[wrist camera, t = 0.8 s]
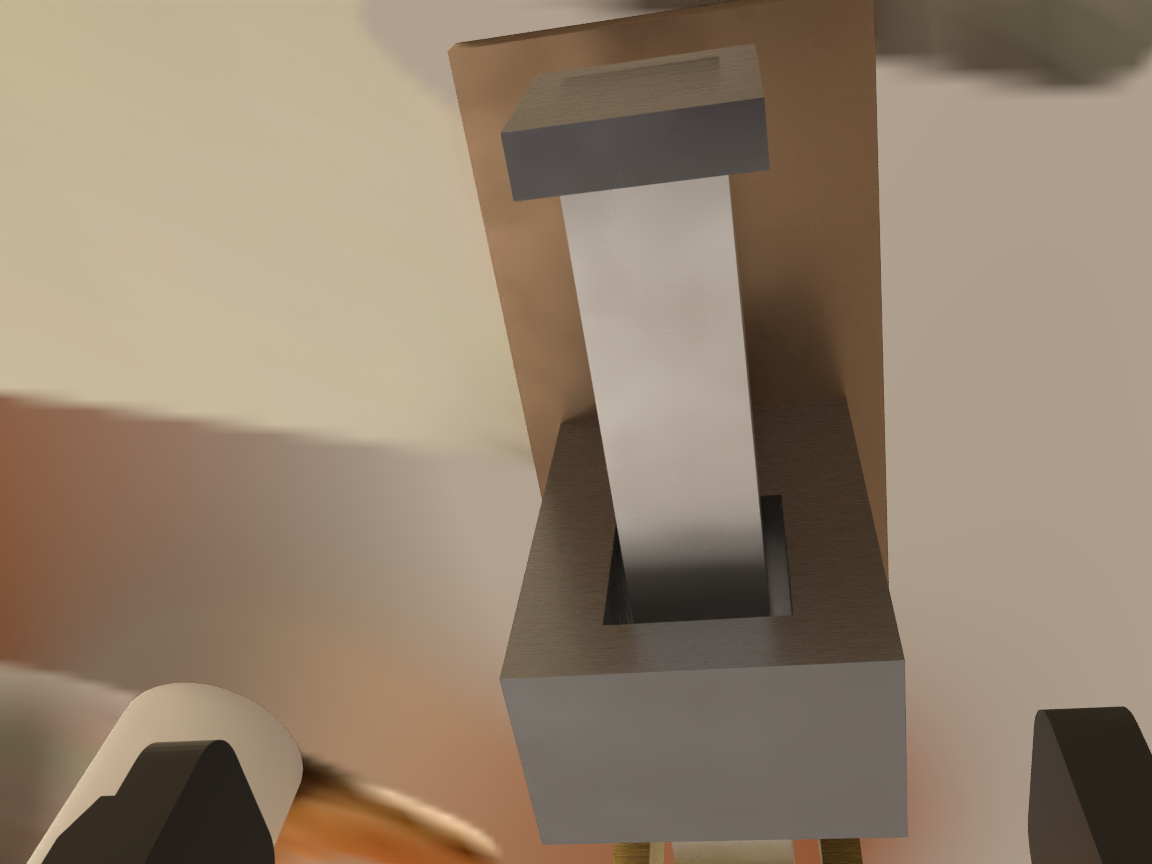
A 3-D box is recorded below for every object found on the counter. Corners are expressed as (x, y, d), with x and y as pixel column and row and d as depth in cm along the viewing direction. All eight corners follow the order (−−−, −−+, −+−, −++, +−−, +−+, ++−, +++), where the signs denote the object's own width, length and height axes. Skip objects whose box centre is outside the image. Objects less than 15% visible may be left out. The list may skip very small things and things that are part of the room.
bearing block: (868, -20, 25) (967, 101, 16) (889, 769, 38) (951, 1111, 28) (456, 43, 27) (310, 186, 17) (607, 777, 40) (573, 1102, 30)
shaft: (754, 43, 21) (764, 97, 18) (817, 859, 33) (831, 997, 29) (536, 75, 22) (500, 133, 18) (673, 862, 34) (668, 996, 30)
